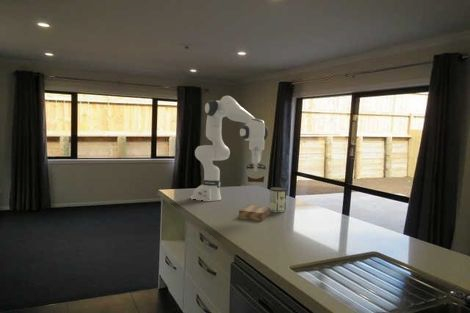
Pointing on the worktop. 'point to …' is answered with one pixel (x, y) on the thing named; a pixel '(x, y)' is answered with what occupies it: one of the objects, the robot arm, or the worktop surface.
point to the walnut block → (254, 212)
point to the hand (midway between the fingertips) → (256, 170)
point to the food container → (255, 173)
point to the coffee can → (278, 199)
